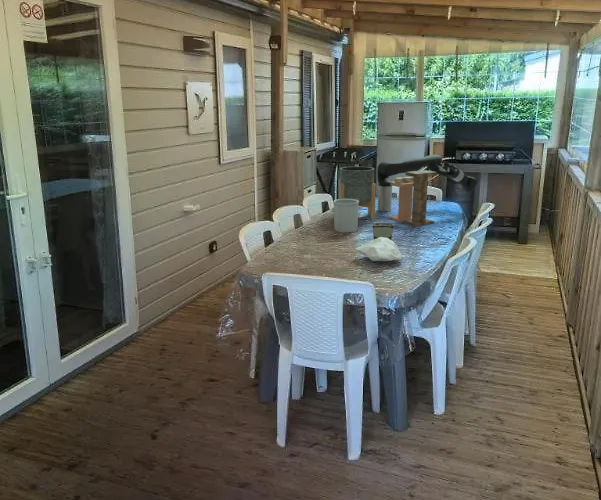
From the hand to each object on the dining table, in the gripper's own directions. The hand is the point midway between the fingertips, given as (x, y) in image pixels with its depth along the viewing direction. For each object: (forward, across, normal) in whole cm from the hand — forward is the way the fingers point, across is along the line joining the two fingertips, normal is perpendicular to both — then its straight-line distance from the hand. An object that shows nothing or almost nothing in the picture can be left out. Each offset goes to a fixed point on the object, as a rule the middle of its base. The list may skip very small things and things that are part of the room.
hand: (440, 162), depth 361 cm
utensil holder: (+48, -8, -70) cm, 85 cm away
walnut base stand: (+7, -16, -44) cm, 48 cm away
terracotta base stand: (+7, -2, -44) cm, 45 cm away
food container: (+46, -41, -68) cm, 92 cm away
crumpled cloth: (+63, -67, -79) cm, 121 cm away
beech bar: (+15, -2, -21) cm, 26 cm away
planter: (+27, +18, -57) cm, 66 cm away
